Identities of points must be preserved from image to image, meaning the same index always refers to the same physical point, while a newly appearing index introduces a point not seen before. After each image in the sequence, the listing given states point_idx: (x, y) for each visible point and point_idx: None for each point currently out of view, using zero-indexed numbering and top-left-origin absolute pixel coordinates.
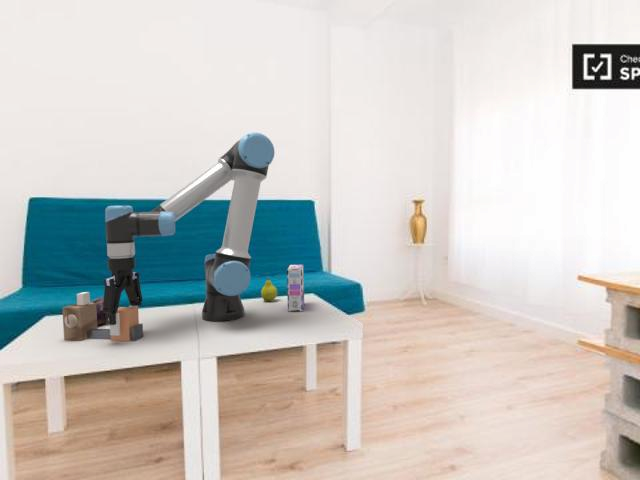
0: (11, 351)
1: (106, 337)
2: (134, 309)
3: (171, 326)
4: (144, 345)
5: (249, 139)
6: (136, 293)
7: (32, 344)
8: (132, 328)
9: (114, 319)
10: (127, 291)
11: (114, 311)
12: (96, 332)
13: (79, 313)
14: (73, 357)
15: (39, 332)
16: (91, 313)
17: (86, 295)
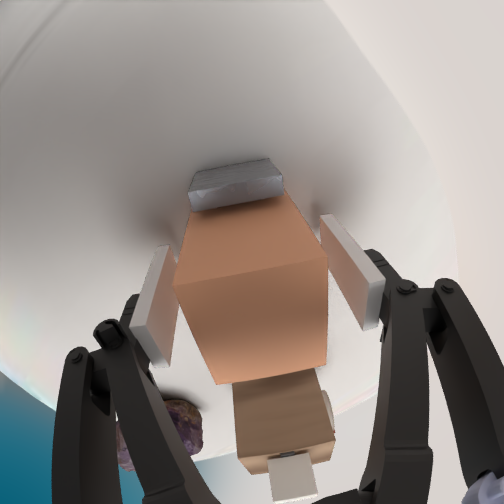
0: None
1: None
2: (228, 271)
3: (33, 178)
4: (316, 65)
5: None
6: (95, 420)
7: (343, 394)
8: (281, 184)
9: (380, 266)
10: (190, 465)
11: (418, 289)
12: None
13: (329, 422)
14: (446, 235)
15: None
16: (265, 421)
17: (292, 489)
